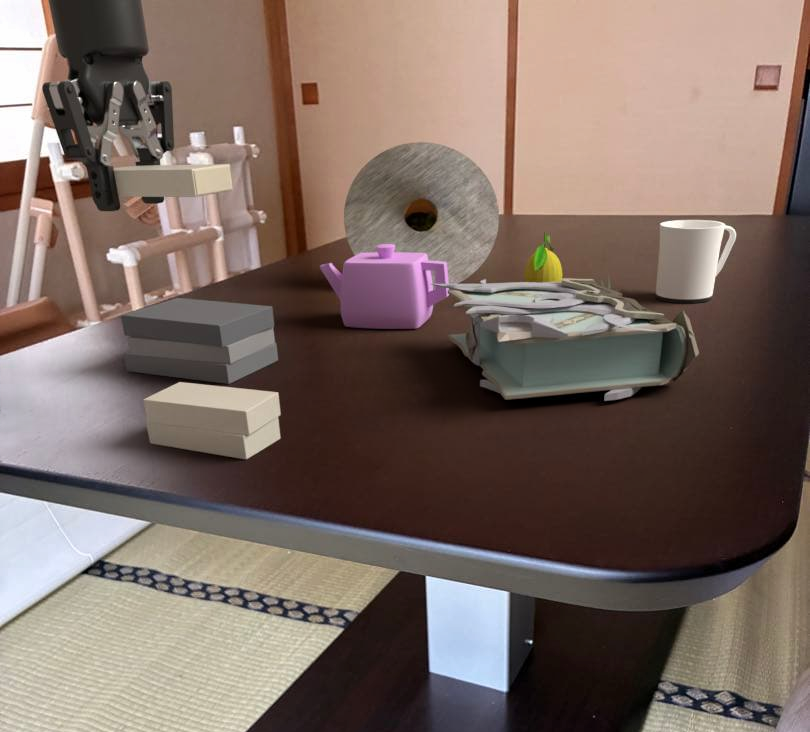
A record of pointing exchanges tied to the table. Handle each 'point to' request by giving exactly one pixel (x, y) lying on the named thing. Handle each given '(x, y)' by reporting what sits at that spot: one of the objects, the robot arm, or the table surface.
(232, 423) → the cream lidded box
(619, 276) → the table surface
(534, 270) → the lemon
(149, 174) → the cream rectangular block
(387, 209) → the disc
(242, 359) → the grey stack
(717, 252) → the mug
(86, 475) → the table surface
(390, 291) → the teapot
